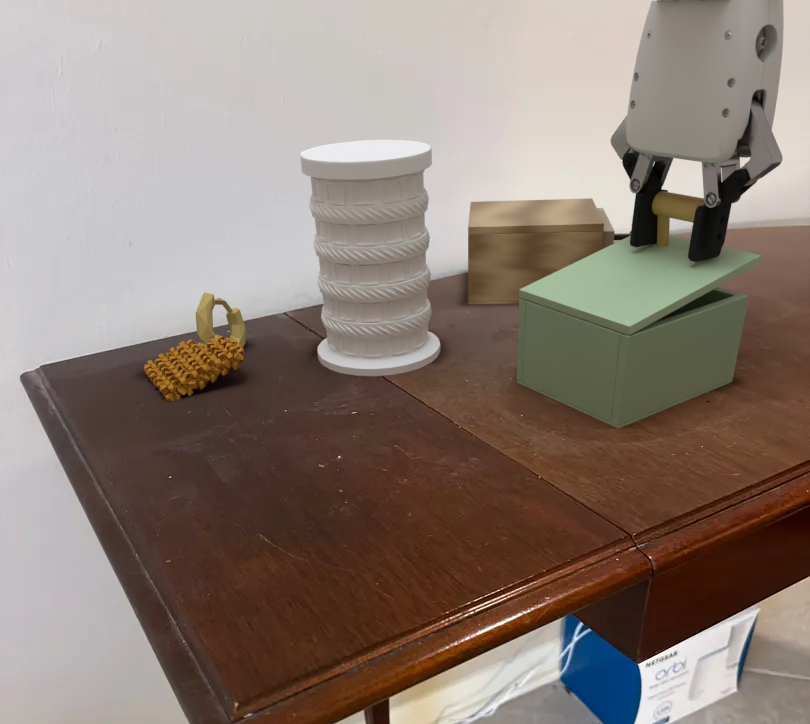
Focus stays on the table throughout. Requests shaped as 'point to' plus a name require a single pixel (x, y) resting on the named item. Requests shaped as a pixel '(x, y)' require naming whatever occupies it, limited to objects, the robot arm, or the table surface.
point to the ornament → (200, 354)
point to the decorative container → (372, 255)
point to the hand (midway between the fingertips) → (674, 248)
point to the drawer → (609, 231)
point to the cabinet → (526, 244)
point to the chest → (630, 357)
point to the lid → (639, 275)
